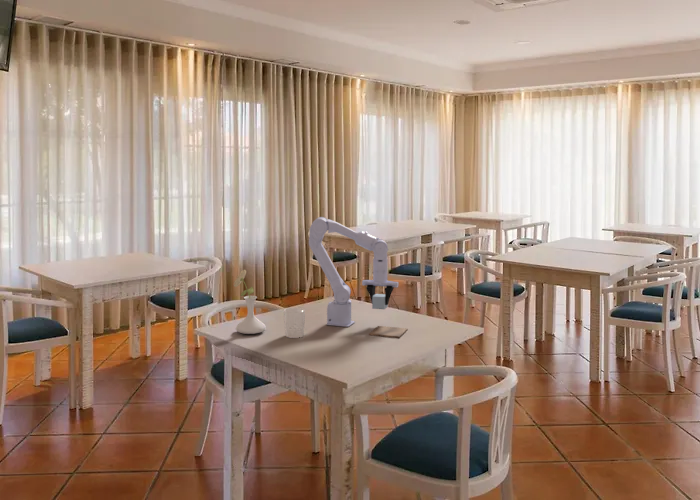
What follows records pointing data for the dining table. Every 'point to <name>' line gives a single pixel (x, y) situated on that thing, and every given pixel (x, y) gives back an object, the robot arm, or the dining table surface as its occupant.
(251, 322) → the flower in vase
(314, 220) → the robot arm
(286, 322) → the white cup
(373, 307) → the blue cube
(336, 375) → the dining table surface
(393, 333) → the walnut board
